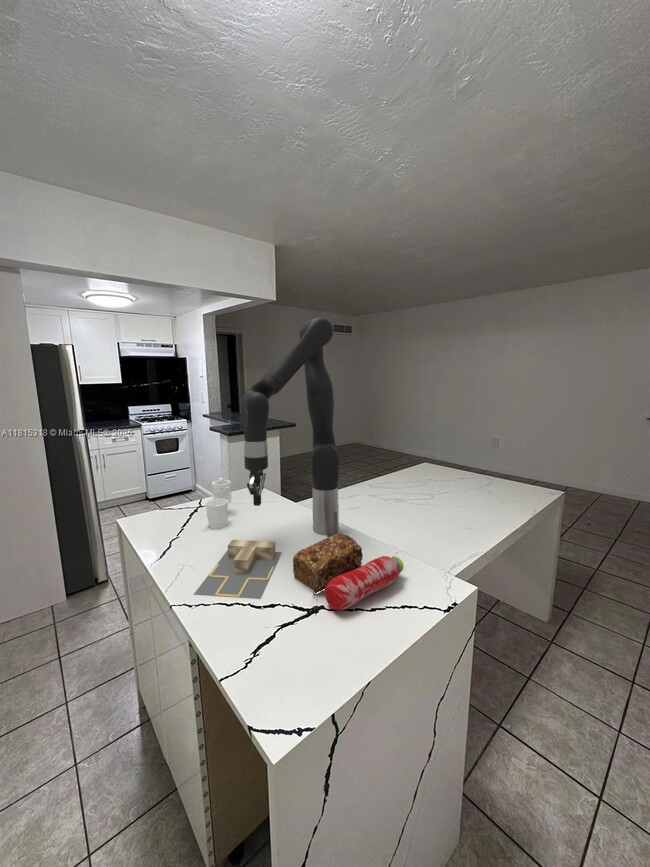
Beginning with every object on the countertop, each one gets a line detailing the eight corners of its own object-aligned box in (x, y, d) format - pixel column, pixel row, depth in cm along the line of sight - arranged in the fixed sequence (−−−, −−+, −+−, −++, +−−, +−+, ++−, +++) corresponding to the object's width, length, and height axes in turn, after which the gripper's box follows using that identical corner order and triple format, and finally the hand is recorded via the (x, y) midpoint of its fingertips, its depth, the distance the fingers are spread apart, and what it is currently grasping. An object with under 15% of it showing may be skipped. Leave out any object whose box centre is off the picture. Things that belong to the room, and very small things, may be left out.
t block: (275, 553, 113) (275, 541, 112) (264, 574, 101) (264, 561, 100) (233, 551, 114) (232, 539, 114) (217, 571, 103) (217, 558, 102)
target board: (282, 554, 114) (282, 551, 114) (260, 602, 90) (260, 598, 90) (228, 552, 116) (228, 548, 116) (193, 598, 92) (193, 593, 92)
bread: (339, 557, 112) (339, 528, 111) (364, 571, 104) (364, 539, 103) (291, 580, 100) (290, 547, 98) (315, 598, 92) (315, 562, 91)
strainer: (231, 510, 151) (229, 476, 149) (232, 516, 145) (230, 481, 142) (214, 512, 149) (212, 478, 146) (214, 518, 142) (212, 483, 140)
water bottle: (311, 572, 92) (378, 544, 107) (314, 602, 92) (380, 569, 107) (341, 586, 82) (410, 553, 98) (345, 620, 83) (412, 581, 98)
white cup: (223, 532, 130) (221, 506, 128) (203, 530, 132) (201, 505, 130) (232, 523, 138) (231, 499, 136) (214, 522, 139) (212, 497, 138)
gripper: (261, 459, 108) (262, 513, 110) (272, 449, 120) (273, 498, 123) (237, 458, 108) (239, 512, 111) (251, 449, 121) (252, 497, 124)
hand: (257, 504), depth 117 cm, fingers closed
